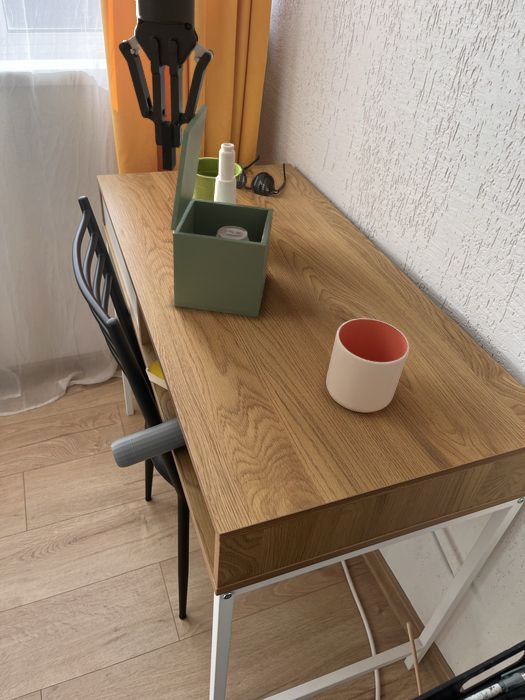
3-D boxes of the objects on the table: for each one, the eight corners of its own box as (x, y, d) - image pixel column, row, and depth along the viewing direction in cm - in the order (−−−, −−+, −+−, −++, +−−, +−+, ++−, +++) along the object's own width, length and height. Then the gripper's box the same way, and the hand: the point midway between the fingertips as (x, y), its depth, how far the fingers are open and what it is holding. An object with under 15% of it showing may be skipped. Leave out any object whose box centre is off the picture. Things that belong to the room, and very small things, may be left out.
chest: (265, 276, 101) (273, 208, 92) (258, 317, 90) (265, 245, 81) (190, 266, 101) (191, 198, 92) (174, 306, 90) (172, 233, 82)
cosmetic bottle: (202, 260, 103) (204, 146, 89) (213, 246, 108) (218, 136, 94) (231, 267, 102) (238, 153, 88) (241, 253, 107) (250, 143, 93)
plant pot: (243, 228, 115) (247, 178, 108) (189, 229, 112) (189, 178, 105) (233, 204, 124) (236, 157, 117) (183, 205, 121) (182, 156, 114)
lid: (207, 105, 82) (202, 103, 82) (189, 131, 72) (183, 130, 72) (193, 196, 92) (188, 194, 92) (175, 231, 81) (170, 230, 81)
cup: (392, 377, 81) (410, 326, 75) (390, 423, 74) (409, 370, 67) (329, 363, 82) (340, 311, 76) (320, 407, 75) (332, 354, 68)
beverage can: (213, 284, 95) (216, 223, 88) (245, 286, 96) (250, 226, 88) (211, 302, 91) (214, 239, 83) (244, 304, 91) (249, 242, 84)
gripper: (105, -19, 64) (121, 170, 79) (210, -7, 64) (206, 181, 79) (124, -24, 70) (135, 153, 85) (220, -13, 70) (214, 163, 85)
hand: (169, 166), depth 82 cm, fingers closed
